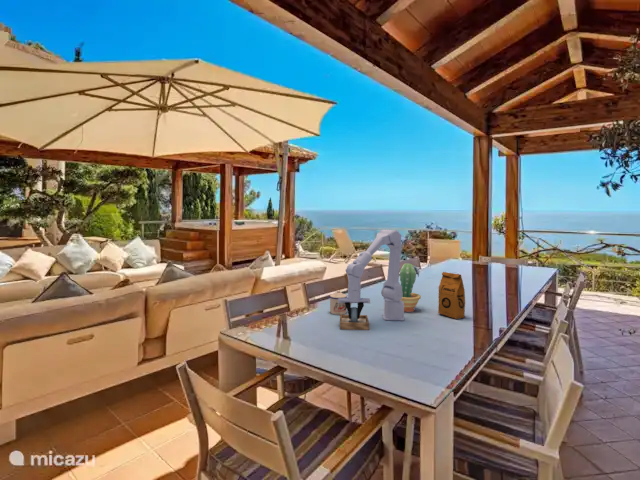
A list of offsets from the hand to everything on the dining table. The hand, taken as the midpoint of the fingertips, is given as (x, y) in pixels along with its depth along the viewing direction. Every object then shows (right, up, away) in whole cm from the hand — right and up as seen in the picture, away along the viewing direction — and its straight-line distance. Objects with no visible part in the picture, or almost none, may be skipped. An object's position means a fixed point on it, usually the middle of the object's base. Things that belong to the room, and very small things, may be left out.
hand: (354, 318), depth 171 cm
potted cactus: (+31, -1, +28) cm, 42 cm away
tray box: (0, -3, 0) cm, 3 cm away
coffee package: (+51, -2, +16) cm, 53 cm away
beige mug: (-5, -2, +22) cm, 23 cm away
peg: (0, -2, 0) cm, 2 cm away
